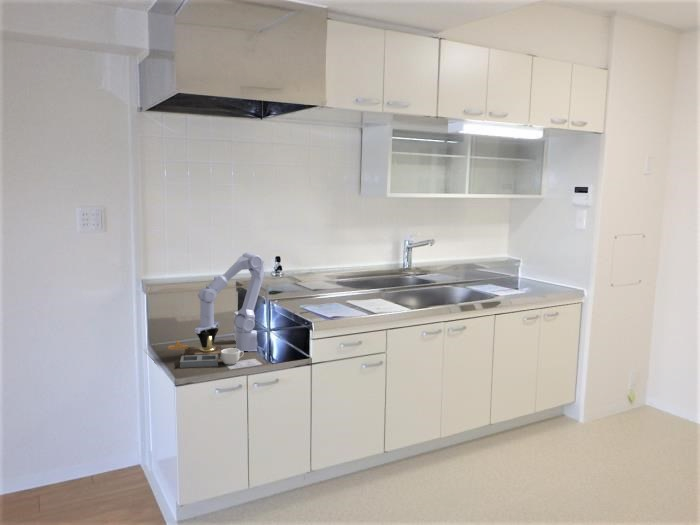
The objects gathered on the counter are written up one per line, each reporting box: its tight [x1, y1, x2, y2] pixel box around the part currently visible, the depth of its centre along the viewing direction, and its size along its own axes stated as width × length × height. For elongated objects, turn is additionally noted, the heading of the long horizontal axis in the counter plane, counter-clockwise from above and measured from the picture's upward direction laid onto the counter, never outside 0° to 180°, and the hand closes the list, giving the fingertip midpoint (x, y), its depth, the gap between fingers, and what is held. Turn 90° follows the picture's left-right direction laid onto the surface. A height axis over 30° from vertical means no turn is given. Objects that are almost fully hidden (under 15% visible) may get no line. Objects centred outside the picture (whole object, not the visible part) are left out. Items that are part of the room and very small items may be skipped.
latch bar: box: [167, 340, 189, 350], centre depth 249 cm, size 8×2×3 cm, turn 102°
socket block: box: [184, 345, 222, 360], centre depth 252 cm, size 15×11×4 cm
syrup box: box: [233, 311, 238, 342], centre depth 274 cm, size 6×6×14 cm
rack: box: [179, 354, 219, 369], centre depth 241 cm, size 15×8×2 cm, turn 102°
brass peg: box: [199, 335, 216, 352], centre depth 252 cm, size 7×7×9 cm
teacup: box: [220, 347, 245, 365], centre depth 243 cm, size 10×8×5 cm
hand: (207, 345), depth 252 cm, fingers closed on brass peg, 4 cm apart
